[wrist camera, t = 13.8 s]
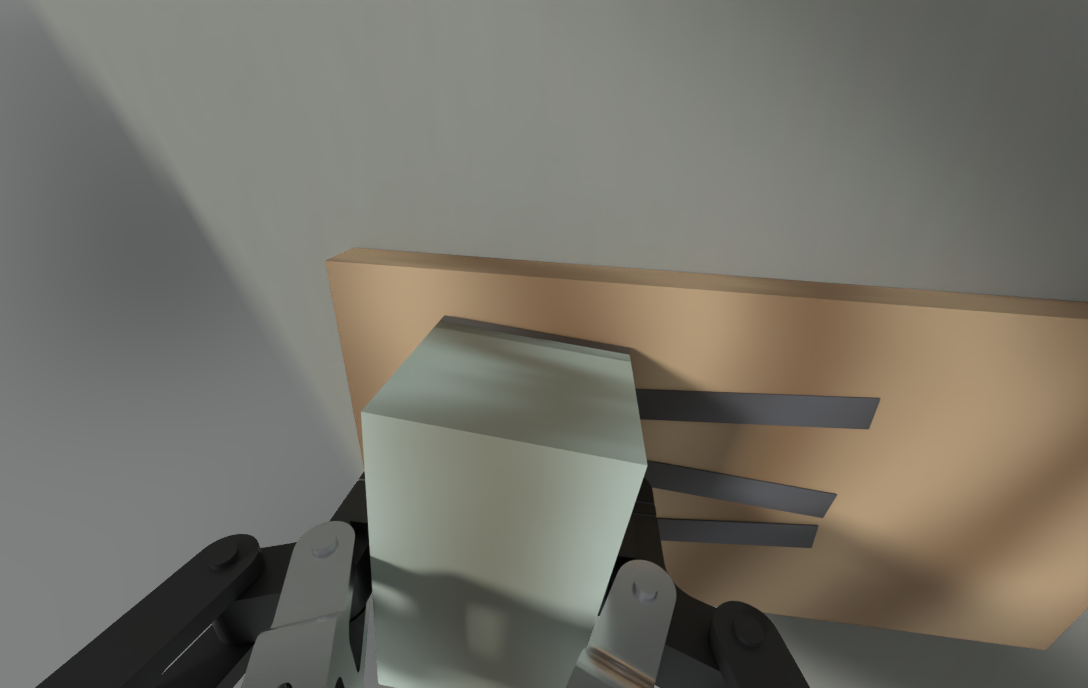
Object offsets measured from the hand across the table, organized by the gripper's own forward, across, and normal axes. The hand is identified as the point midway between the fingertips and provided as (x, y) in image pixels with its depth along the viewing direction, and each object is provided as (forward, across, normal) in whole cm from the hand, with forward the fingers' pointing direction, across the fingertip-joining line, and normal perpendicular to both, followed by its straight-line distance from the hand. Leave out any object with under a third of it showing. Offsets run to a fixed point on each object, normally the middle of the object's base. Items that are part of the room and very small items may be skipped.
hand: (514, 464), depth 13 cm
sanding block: (0, 0, 0) cm, 0 cm away
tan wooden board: (+2, -7, 0) cm, 7 cm away
